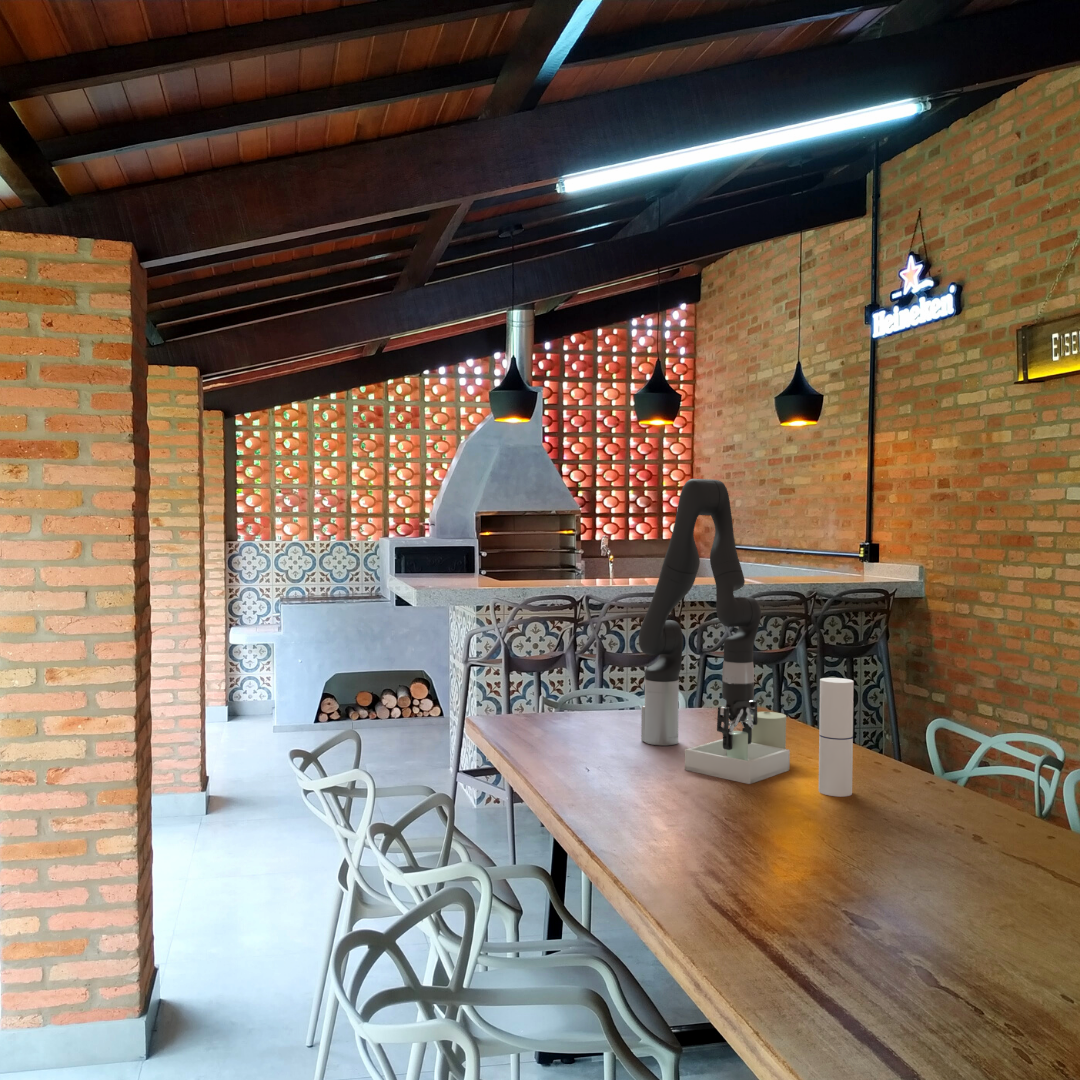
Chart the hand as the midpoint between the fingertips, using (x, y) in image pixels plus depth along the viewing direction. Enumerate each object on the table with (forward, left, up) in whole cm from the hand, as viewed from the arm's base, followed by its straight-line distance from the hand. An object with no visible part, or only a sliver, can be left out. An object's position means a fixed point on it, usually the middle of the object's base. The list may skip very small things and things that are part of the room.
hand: (737, 746), depth 234 cm
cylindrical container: (+26, -1, -6) cm, 27 cm away
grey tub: (0, 0, -6) cm, 6 cm away
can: (0, +14, -6) cm, 15 cm away
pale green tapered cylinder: (0, 0, -5) cm, 5 cm away
